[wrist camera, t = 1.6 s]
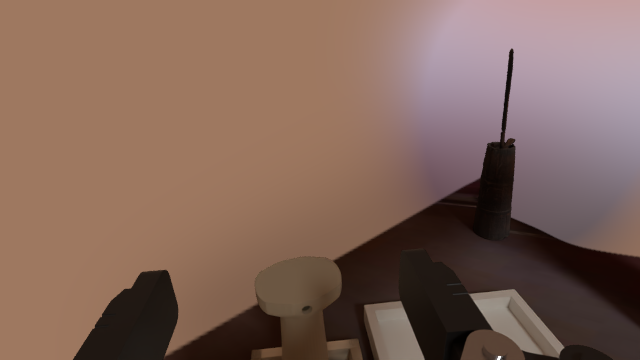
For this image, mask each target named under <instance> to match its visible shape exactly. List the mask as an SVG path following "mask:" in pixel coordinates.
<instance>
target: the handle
mask: <svg viewBox="0 0 640 360" xmlns="http://www.w3.org/2000/svg"><path fill="white" fill-rule="evenodd" d="M341 287H342V280H341V272H340V270H339V268H338V266H337V265H336V264H335V263H334V262H333V261H331V260H330V259H328V258H321V257H299V258H294V259H289V260H285V261H281V262H279V263H276V264H274V265H272V266H270V267H268V268H267V269H265V270H263V271H261V272H260V273H259V274H258V276H257V277H256V280H255V290H256V297H257V300H258V304H259V306H260V307H261V309H262V310H263V311H264V312H265V313H267V314H268V315H273V316H278V317H280V321H281V336H282V360H329V356H328V349H327V342H326V335H325V328H324V319H323V309H325V308H326V307H327V306H329V305H330V304H331V303H332V302H334V301H335V300H336V299H337V298H338V297H339V296H340V293H341Z"/></svg>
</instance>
